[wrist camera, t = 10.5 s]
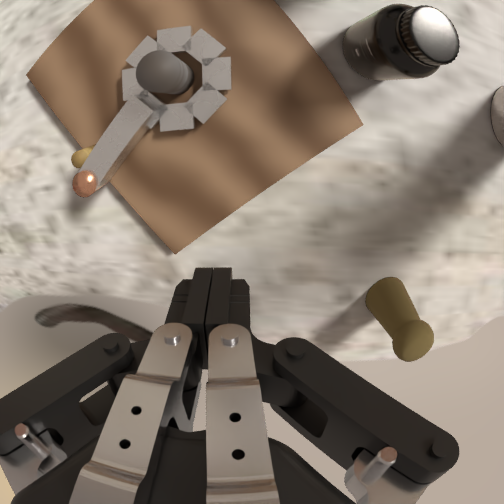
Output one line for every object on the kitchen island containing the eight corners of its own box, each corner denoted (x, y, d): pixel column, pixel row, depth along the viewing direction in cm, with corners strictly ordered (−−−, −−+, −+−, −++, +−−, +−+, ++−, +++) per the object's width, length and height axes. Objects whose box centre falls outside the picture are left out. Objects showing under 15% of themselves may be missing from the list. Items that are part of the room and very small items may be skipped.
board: (199, -65, 17) (188, -108, 9) (358, 123, 28) (399, 134, 20) (33, 74, 23) (-18, 76, 15) (177, 248, 34) (160, 294, 26)
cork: (403, 305, 40) (436, 358, 30) (365, 317, 40) (393, 375, 31) (404, 271, 37) (445, 324, 27) (364, 283, 38) (398, 341, 28)
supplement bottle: (335, 21, 23) (386, -14, 12) (393, 24, 23) (459, 2, 12) (346, 81, 26) (404, 74, 15) (403, 81, 26) (474, 82, 15)
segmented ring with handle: (176, 11, 21) (165, -3, 17) (254, 73, 24) (256, 68, 20) (64, 153, 26) (42, 163, 22) (131, 210, 30) (116, 227, 26)
